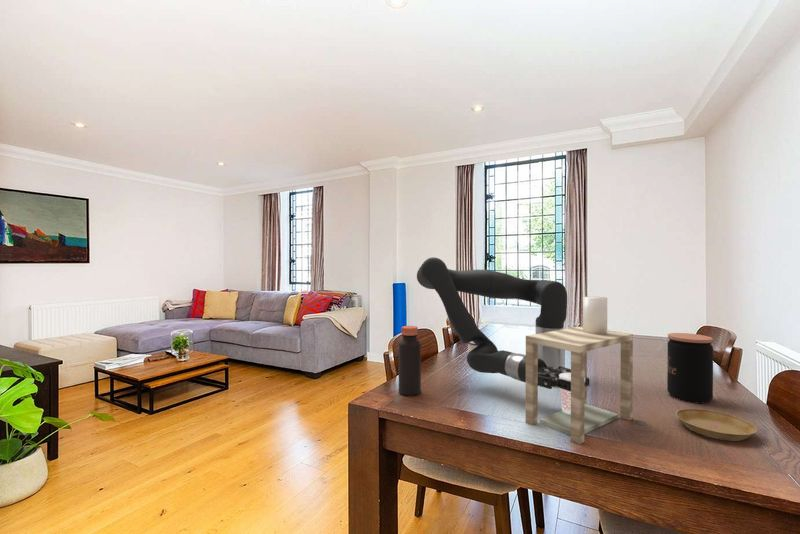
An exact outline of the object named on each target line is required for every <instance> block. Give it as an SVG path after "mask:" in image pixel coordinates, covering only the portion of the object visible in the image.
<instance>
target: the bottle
mask: <svg viewBox="0 0 800 534" xmlns="http://www.w3.org/2000/svg"><path fill="white" fill-rule="evenodd" d="M418 331H419V329H418V327H417V326H415V325H404V326H401V337H402V339H401V340H400V341H399V342H398V393H399V394H400V393H401V394H400V395H402V394H403V396H407V395H409V396H408V397H410V396H411V397H412V395H413V396H417V395H420V393H421V392H422V390H421V389H422V387H421V386H422V383H421V382H422V379H421V378H422V377H421V376H422V375H421V374H422V370H421V369H422V367H421V366H422V364H421V361H422V360H421V358H422V357H421V356H422V353H421V350H422V349H421V348H422V347H421V342H420V341H419V340H418V339H417V337H418Z"/></svg>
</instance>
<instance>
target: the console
mask: <svg viewBox="0 0 800 534" xmlns="http://www.w3.org/2000/svg"><path fill="white" fill-rule="evenodd" d="M618 344H620V391H619V392H620V394H619V395H620V400H619V401H620V402H619V403H620V404H619V405H620V413H619V414H618V413H616V412H613V411H609V410H606V409H604V408H599V407H597V406H594V405H591V404H588V403H587V402H588V401H587V400H588V399H587V398H588V394H587V392H588V389H587V388H588V386H587V387H586V386H585V377H588V374H587V373H588V372H587V371H588V351H589V352H590V351H593V350H598V349H602V348H606V347H609V346H610V347H611V346H614V345H618ZM538 345H543V346H548V347H553V348H558V349H563V350H565V351H568V352H569V351H570V369H571V415H570V414H567V413H564V412H563V411H562V410H560V411H558V412H555V413H552V414H550V415H546V416H544V417H541V418H539V424H541V425H542V426H543V425H544V426H546V427H549V428H551V429H554V430H556V431H558V432H562V433H563V434H566V435H569V436H570V442H572V443H575V444H577V445H581V444H584V443H585V434H586V433H587V434H588V433H589V432H592V431H593V430H596V429H598V428H600V427H603V426H604V425H607V424H608V423H611V422H613V421H615V420H618V419H619V415H620V419H623V420H625V421H631V420H633V418H634V417H633V416H634V415H633V414H634V413H633V409H634V407H633V406H634V405H633V404H634V403H633V402H634V401H633V400H634V399H633V397H634V395H633V393H634V391H633V390H634V387H633V385H634V382H633V381H634V380H633V379H634V374H633V373H634V372H633V370H634V365H633V364H634V334H633V333H627V332H622V331H621V332H620V331H615V330H614V331H613V330H608V329H607V334H591V333H586V332H583V326H575V327H569V328H564V329H563V330H557V331H551V332H545V333H539V334H536V333H535V334H529V335H525V355H526V383H525V423H526V424H528V425H531V426H534V425H537V424H538V411H539V409H538V408H539V407H538V396H539V395H538V394H539V393H538V389H539V388H538V387H539V386H538Z"/></svg>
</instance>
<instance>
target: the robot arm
mask: <svg viewBox="0 0 800 534" xmlns="http://www.w3.org/2000/svg"><path fill="white" fill-rule="evenodd" d="M416 280H417V282H418V284H420V286H421V287H424V288H425V289H429V290H435V292H436V293H437V294H438V296H439V298H440V300H441V302H442V304H443V306H444V310H445V312H446V315H447V318H448V320H449V323H450V325H451V327H452V329H453V330H454V332H455V333H456V335H457V336H458V339H459V340H460V341H461V343H463V344H468V343H469V342H474V343H475V344H476V345H477V347H476V348H474V349H473V350H471V351H470V352H469V353H468V352H467V356H466V363H467V364H468V366H469V367H470V368H471V369H472V370H473V371H476V372H478V373H485V374H501V375H504V376H507V377H509V378H511V379H514V380H516V381H519V382H522V383H525V384H526V354H522V353H516V352H512V351H508V350H503V349H502V350H501V349H500V350H499V349H498V348H497V346H496V344H495V343H494V342H493V341H492V340H491V339H490V338H489V337H487V336H486V334H485V333H484V332H483V331H481V330H480V328H479V327H478V325H477V323H476V322H475V321H474V319H473V317H472V315H471V314H470V312H469V310H468V309H467V307H466V305H465V304H464V301H463V300H462V298H461V296H460V294H459V292H461V293H464V294H469V295H475V296H480V297H484V298H485V297H486V298H491V299H499V300H512V299H515V300H516V299H517V300H521V301H526V302H530V303H533V304H536V305H539V306H540V313H539V315H538V316H537V317H536V318H535V334H539V333H545V332H551V331H557V330H563V329H565V322H566V319H567V313H568V312H567V310H568V292H567V289H566V287H565V285H564V284H563V283H561V282H559V281H556V280H545V279H544V280H543V279H542V280H537V279H525V278H519V277H516V276H513V275H511V274H508V273H505V272H501V271H496V270H489V269H469V270H466V269H465V270H456V269H454V270H453V269H449V268H448V267H447V265H446V263H445V262H444V261H443V260H442V259H440V258H438V257H435V256H434V257H429V258H427V259H425V260H424V261H423V263H421V265H420V266H419V268H418V270H417V272H416ZM561 373H571V368H568V367H566V350H563V349H558V348H553V347H548V346H543V345H538V387H541V388H545V389H549V390H552V389H553V388H554V389H560V390H561V389H564V390H568V391H571V381H567V380H564V379H559V375H560V374H561ZM585 386H586V387H587V388H588V387H589V386H590V378H589V377H588V376H587V377H585Z"/></svg>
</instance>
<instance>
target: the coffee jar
mask: <svg viewBox="0 0 800 534" xmlns="http://www.w3.org/2000/svg"><path fill="white" fill-rule="evenodd" d="M667 338H668V340H669V341H667V365H666V366H667V372H666V373H667V376H666V377H667V379H666V380H667V382H666V383H667V386H666V387H667V389H666V390H667V391H666V392H667V393H669V395H670V396H671V397H672V396H673V397H672V398H674V397H675V398H674V399H676V398H678V399H677V400H679V399H680V400H679V401H682V400H684V401H683V402H686V401H690V402H689V403H692V402H698V403H697V404H706V403H705V402H708V403H710V402H711V401H712V400H713V398H714V347H713V345H712V343H713V342H714V338H713V337H711V336H708V335H703V334H697V333H689V332H688V333H687V332H670V333H667ZM709 401H710V402H709ZM702 402H704V403H702Z"/></svg>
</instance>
